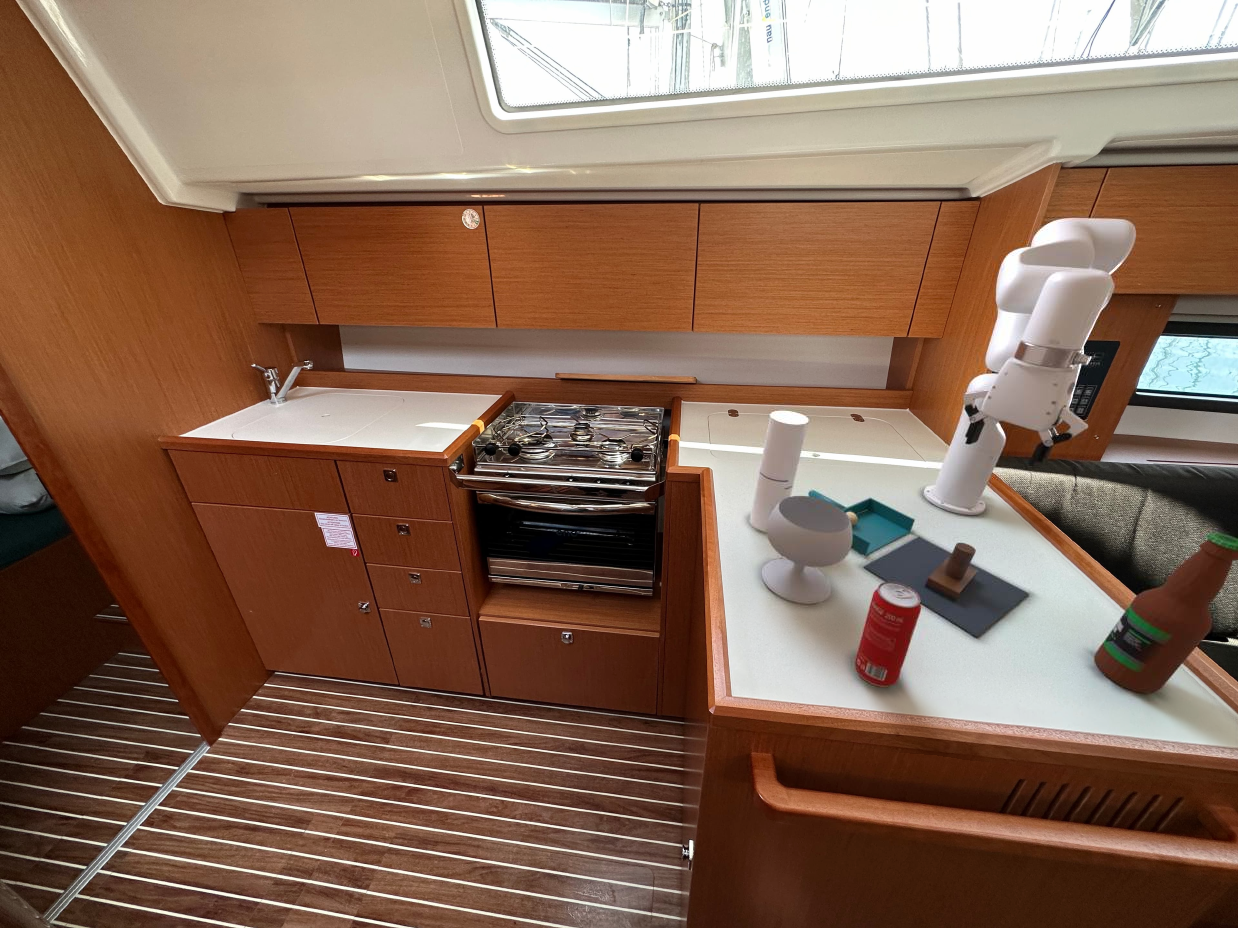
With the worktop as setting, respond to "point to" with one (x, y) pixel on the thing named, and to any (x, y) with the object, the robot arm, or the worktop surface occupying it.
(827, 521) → the chalice
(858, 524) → the dustpan
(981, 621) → the mat
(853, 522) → the crumb
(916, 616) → the beverage can
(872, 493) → the worktop surface
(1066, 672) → the worktop surface
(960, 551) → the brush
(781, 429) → the cylindrical container
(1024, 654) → the worktop surface
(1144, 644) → the bottle
